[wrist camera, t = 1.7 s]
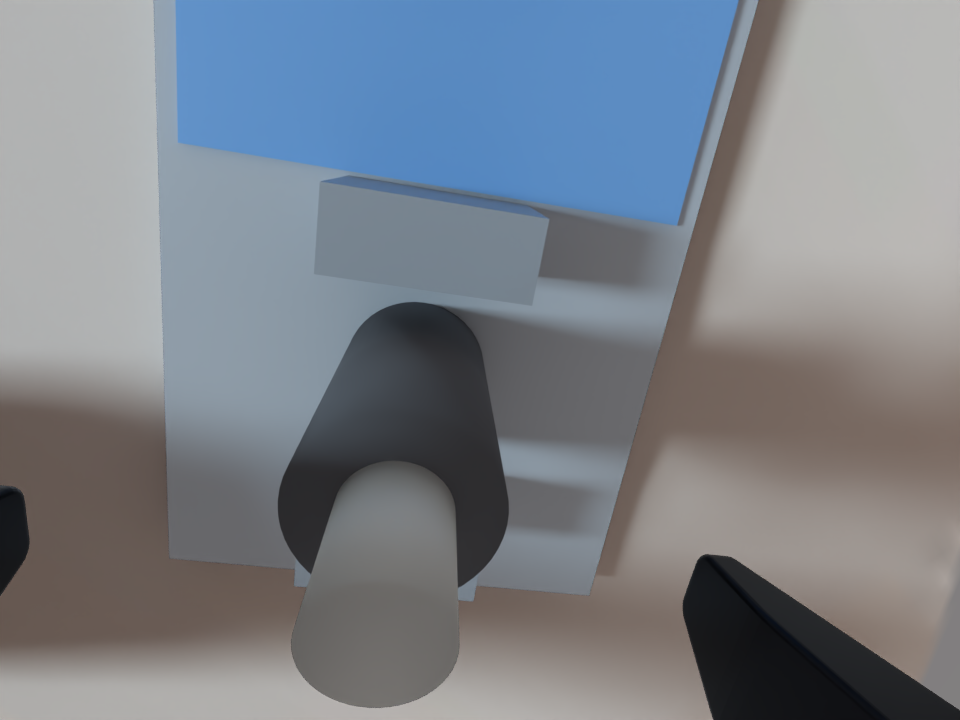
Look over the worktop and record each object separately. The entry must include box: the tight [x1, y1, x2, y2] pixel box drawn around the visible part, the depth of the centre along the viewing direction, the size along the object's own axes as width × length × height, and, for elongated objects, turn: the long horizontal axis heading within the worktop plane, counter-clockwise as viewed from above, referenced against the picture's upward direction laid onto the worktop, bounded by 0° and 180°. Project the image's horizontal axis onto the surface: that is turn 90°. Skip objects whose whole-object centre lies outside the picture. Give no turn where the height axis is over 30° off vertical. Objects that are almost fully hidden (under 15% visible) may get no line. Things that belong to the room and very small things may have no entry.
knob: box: [278, 302, 509, 708], centre depth 10 cm, size 3×3×8 cm
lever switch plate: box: [153, 0, 759, 601], centre depth 12 cm, size 12×20×4 cm, turn 171°
